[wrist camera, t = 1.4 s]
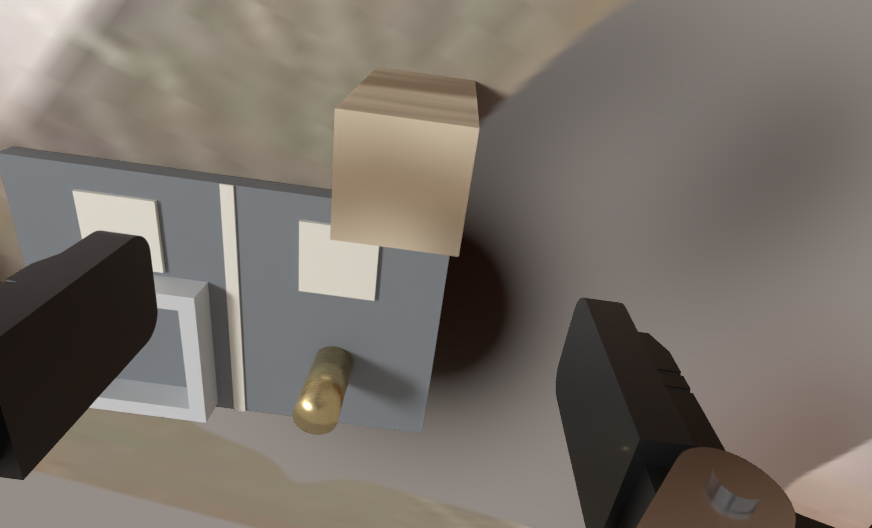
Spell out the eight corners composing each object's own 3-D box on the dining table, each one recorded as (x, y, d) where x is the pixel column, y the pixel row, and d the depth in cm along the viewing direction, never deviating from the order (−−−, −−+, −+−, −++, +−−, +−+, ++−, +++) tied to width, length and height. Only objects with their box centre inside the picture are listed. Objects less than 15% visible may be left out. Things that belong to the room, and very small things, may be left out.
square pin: (377, 67, 22) (335, 108, 15) (475, 80, 22) (479, 128, 15) (370, 162, 24) (329, 239, 17) (461, 174, 24) (458, 256, 17)
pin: (315, 343, 27) (292, 397, 24) (354, 348, 27) (337, 403, 24) (314, 374, 28) (292, 431, 25) (352, 379, 28) (336, 437, 25)
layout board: (12, 146, 24) (-33, 163, 22) (456, 206, 24) (454, 229, 22) (68, 374, 30) (37, 405, 28) (423, 420, 31) (420, 454, 28)
